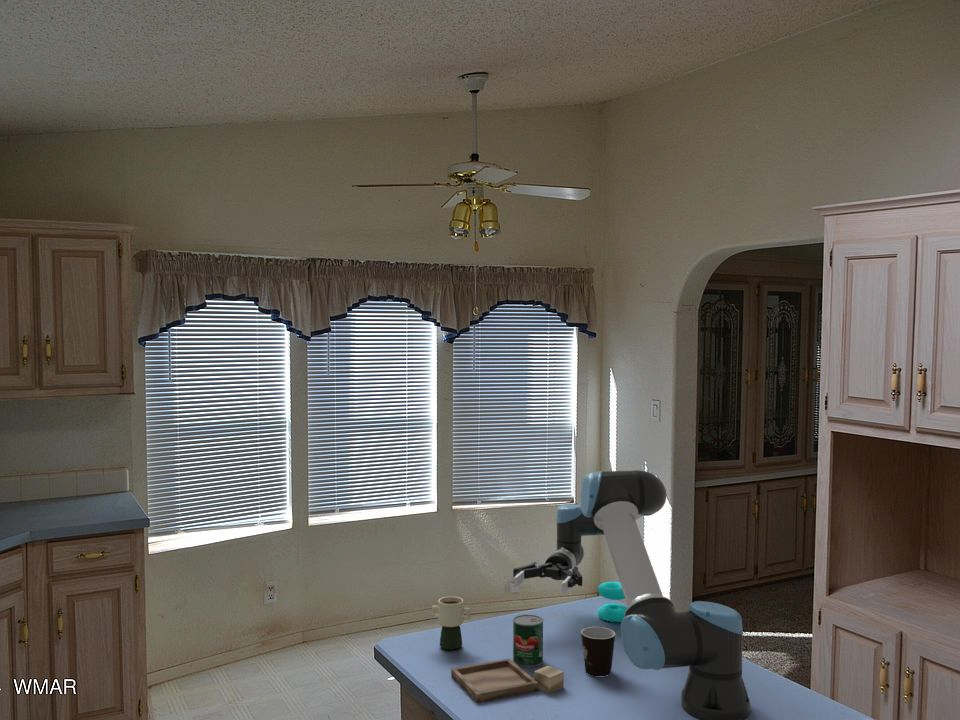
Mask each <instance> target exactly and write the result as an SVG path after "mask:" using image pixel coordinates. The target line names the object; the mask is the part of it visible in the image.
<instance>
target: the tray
mask: <svg viewBox="0 0 960 720" xmlns="http://www.w3.org/2000/svg"><path fill="white" fill-rule="evenodd" d="M450 669H451V673H450V675H451V678H452V679H453V680H454V681H455V682H456V683H457V684H458V685H459V686H460V687H461V689H463V690H464V692H466V694H467V695H468V696H469V697H470V698H471V699H473V701H474V702H475V703H476V704H478V703H479V704H480V703H484V702H488V701H493V700H498V699H503V698H504V699H505V698H508V697H513V696H520V695H524V694H530V693H534V692H538V691H539V689H538V682H537V681H535V680H534V677H532V676H530V675H529V674H528V672H526V671H524V669H522V668H521V666H518V665H516V664H515V663H514V662H513V660H511V659H510V658H506V659H499V660H493V661H487V662H482V663H477V664H475V663H474V664H470V665H465V666H459V667H453V668H450Z"/></svg>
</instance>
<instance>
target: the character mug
mask: <svg viewBox="0 0 960 720" xmlns="http://www.w3.org/2000/svg"><path fill="white" fill-rule="evenodd" d="M464 603H465V600H464V599H463V598H461V597H460V596H452V595H451V596H443V597H440V598H439V599H438V601H437V605H435V604H434V605H432V606H431V617H433V618H437V621H438V624H439V625H440V626H442V627H441V631H440V637H439V646H440V647H441V648H442V649H445V650H456V649H458V648H460V647H462V646H463V637H462V629H461V626H462V624H464V620H465V621H469V620H471V608H470V607H464V605H465V604H464ZM436 610H437V611H438V612H437V613H436ZM464 612H466V615H465V613H464Z"/></svg>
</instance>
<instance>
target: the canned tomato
mask: <svg viewBox="0 0 960 720" xmlns="http://www.w3.org/2000/svg"><path fill="white" fill-rule="evenodd" d="M512 629H513V630H512V634H513V635H512V638H513V639H512V647H513V648H512V656H513V657H512V661H513V662H514V663H515V664H516V665H517V666H519V667H523V668H533V667H534V668H535V666H536V667H538V666H541V665H542V664H544V663H543V662H544V618H543V617H541V616H539V615H534V614H521V615H517V616H514V617H513V625H512Z"/></svg>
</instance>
